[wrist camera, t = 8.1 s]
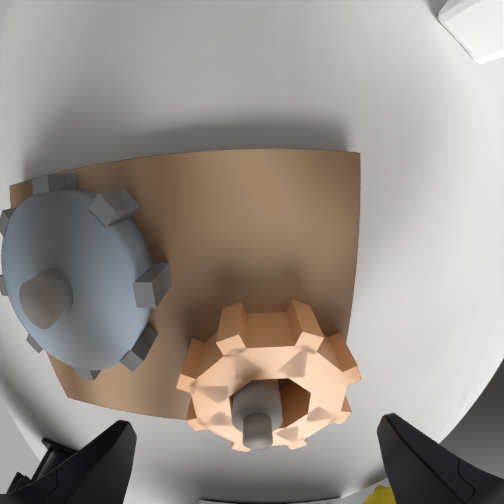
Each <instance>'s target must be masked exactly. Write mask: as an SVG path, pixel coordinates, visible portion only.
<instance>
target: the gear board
mask: <svg viewBox="0 0 504 504" xmlns="http://www.w3.org/2000/svg"><path fill="white" fill-rule="evenodd" d="M10 201H11V209H7V210H3V211H2V214H1V217H0V232H1V234H2V235H3V236H4V237H3V243H2V253H1V261H2V272H3V274H1V275H0V291H1V295H4V296H8V297H9V300H10V302H11V305H12V307H13V309H14V311H15V313H16V315H17V317H18V318H19V320H20V322H21V323H22V325H23V326H24V328H25V329H26V330H27V332H28V333H29V334H28V337H27V341H28V342H29V344H30V345H31V346H32V347H33V348H34V349H35V350H36V351H37V352H38V353H40V352H41V351H42V350H43V349H44V350H45V351H46V352H47V355H48V357H49V359H50V362H51V364H52V366H53V368H54V371H55V373H56V375H57V377H58V379H59V381H60V383H61V385H62V387H63V389H64V391H65V393H66V395H67V397H68V398H72V399H75V400H79V401H82V402H86V403H90V404H94V405H98V406H102V407H106V408H111V409H116V410H121V411H126V412H131V413H137V414H143V415H149V416H156V417H164V418H173V419H182V420H186V416H187V412H188V408H189V404H190V400H191V393H189V392H186V391H183V390H180V389H177V388H176V386H177V383H178V380H179V377H180V373H181V370H182V367H183V364H184V361H185V358H186V355H187V352H188V349H189V346H190V343H191V340H192V338H193V339H196V340H199V341H202V342H206V341H207V340H209V339H210V338H211V337H212V336H213V335H214V334H215V333H216V332H217V331H218V328H219V323H220V318H221V313H222V309H223V308H226V307H228V306H231V305H233V304H236V303H238V302H241V303H242V305H243V307H244V308H245V310H246V312H247V313H272V312H286V311H287V309H288V307H289V305H290V303H291V300H295V301H298V302H301V303H304V304H307V305H310V306H311V309H312V311H313V313H314V315H315V318H316V320H317V322H318V324H319V327H320V329H321V331H322V333H323V334H324V335H325V336H326V337H330V336H332V335H334V334H336V333H339V332H340V334H341V335H342V337H343V339H344V341H345V343H346V340H347V334H348V328H349V322H350V315H351V308H352V300H353V292H354V283H355V274H356V263H357V251H358V237H359V217H360V153H358V152H345V151H330V150H309V149H236V150H215V151H199V152H187V153H176V154H166V155H157V156H149V157H141V158H134V159H127V160H121V161H114V162H108V163H103V164H97V165H92V166H87V167H82V168H77V169H72V170H68V171H63V172H59V173H55V174H50V175H44V176H41V177H37V178H33V179H31V180H28V181H24V182H21V183H18V184H14V185H11V186H10ZM292 382H293V381H292V380H291V379H289V378H282V379H262V380H252V381H250V382H249V383H248V384H246V385H245V386H243V387H242V388H241V389H239V390H238V391H237V392H235V393H234V394H233V409H232V424H233V426H234V427H235V428H236V429H237V430H239V431H240V432H243V445H244V446H245V447H247V448H249V449H254V450H261V449H265V448H268V447H270V446H271V445H272V444H273V434H272V432H273V431H275V430H276V429H278V428H279V427H280V426H281V424H282V421H283V417H282V409H281V401H280V393H279V391H281V390H282V389H284V388H285V387H286V386H288V385H289V384H290V383H292Z"/></svg>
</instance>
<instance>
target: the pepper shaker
mask: <svg viewBox="0 0 504 504" xmlns="http://www.w3.org/2000/svg"><path fill="white" fill-rule="evenodd" d="M438 19H439V21H440V22H441V24H442V25H443V26H444V27H445V28H446V29H447V30H448V31H449V32H450V33H451V34H452V35H453V36H454V37H455V38H456V39H457V40H458V42H459V43H460V44H461V45H462V46H463V47H464V48H465V49H466V51H467V52H468V53H469V54H470V55H471V57H472V58H473V59H474V60H475V61H476V62H478V63H481V64H483V63H487V62H489V61H492V60H495V59H498V58H502V57H504V0H448V1H447V2H446V3H445V5H444V6H443V7H442V8H441V10H440V11H439V14H438Z"/></svg>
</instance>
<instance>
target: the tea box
mask: <svg viewBox="0 0 504 504" xmlns="http://www.w3.org/2000/svg"><path fill="white" fill-rule="evenodd" d="M199 504H235V503H222V502H212V501H204V500H199ZM289 504H344V503H343V500H342V498H336V499H329V500H321V501H313V502H303V503H289Z"/></svg>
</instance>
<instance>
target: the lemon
mask: <svg viewBox="0 0 504 504" xmlns="http://www.w3.org/2000/svg"><path fill="white" fill-rule="evenodd" d="M363 504H396V501H395V498H394V495H393V492H392V488H391V487H384V486H378V487H376V489H375V490H374V492H373V493H372V494H371V495H370V496H368V498H367V499H366V500H365V501H364V503H363Z"/></svg>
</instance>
